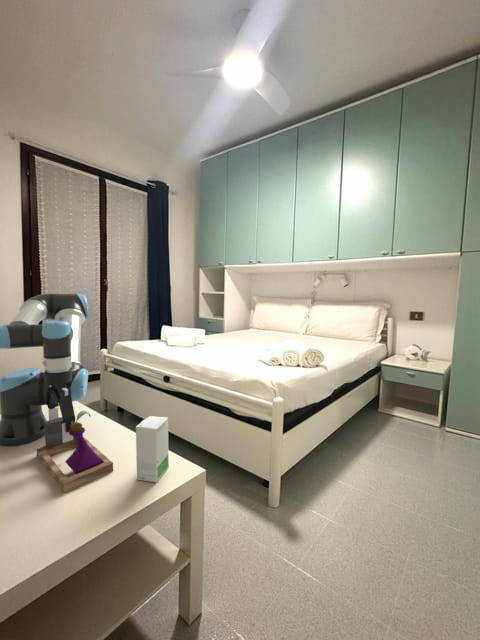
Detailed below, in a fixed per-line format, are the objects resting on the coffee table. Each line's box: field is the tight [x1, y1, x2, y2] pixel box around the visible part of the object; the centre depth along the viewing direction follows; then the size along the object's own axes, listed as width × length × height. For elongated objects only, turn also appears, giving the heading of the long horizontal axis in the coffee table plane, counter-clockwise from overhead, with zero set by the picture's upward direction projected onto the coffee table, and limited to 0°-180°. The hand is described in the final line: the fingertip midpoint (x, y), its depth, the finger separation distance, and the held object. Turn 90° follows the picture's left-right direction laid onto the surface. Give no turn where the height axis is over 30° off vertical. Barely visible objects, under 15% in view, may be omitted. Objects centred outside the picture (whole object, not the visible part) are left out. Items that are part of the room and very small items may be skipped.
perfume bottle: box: [64, 410, 102, 475], centre depth 85 cm, size 8×8×18 cm
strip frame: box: [36, 416, 114, 494], centre depth 90 cm, size 24×13×10 cm, turn 48°
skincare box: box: [135, 415, 170, 483], centre depth 86 cm, size 8×7×16 cm
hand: (60, 433), depth 97 cm, fingers open, 12 cm apart
